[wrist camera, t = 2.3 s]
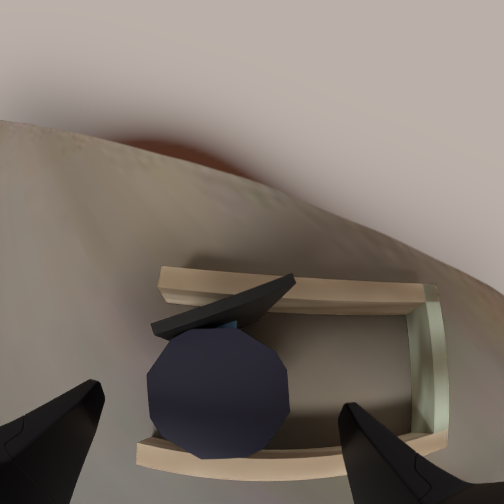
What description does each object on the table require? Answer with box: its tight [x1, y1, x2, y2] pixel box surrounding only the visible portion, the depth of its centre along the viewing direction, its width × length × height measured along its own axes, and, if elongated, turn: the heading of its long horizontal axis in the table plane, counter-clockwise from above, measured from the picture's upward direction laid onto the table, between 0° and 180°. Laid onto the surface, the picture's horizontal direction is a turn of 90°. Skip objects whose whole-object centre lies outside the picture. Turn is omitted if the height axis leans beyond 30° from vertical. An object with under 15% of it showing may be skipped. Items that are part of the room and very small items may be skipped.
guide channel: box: [136, 266, 449, 481], centre depth 16 cm, size 13×20×3 cm, turn 87°
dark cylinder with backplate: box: [147, 273, 296, 460], centre depth 13 cm, size 8×6×10 cm
